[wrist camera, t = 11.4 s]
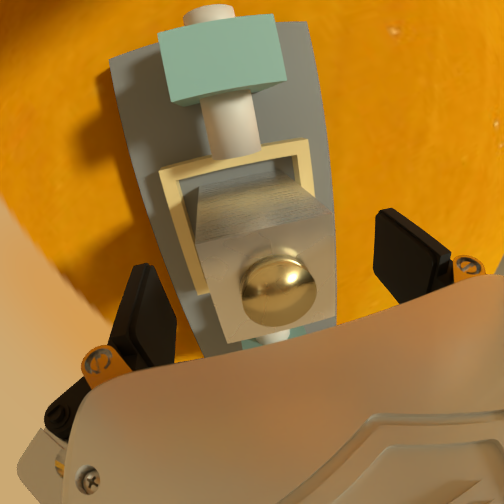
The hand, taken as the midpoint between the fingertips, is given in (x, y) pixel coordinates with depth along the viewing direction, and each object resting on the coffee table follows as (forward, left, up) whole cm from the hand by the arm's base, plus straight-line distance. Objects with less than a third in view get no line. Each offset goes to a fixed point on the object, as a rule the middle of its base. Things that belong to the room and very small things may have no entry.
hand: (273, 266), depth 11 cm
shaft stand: (+1, 0, -9) cm, 9 cm away
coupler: (+1, 0, -7) cm, 7 cm away
